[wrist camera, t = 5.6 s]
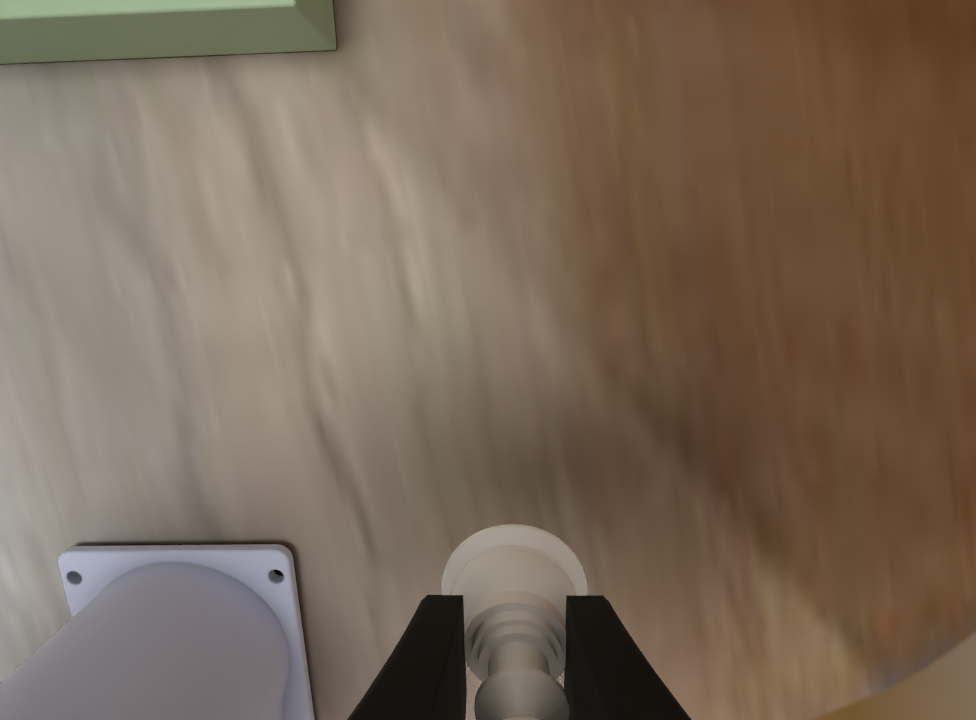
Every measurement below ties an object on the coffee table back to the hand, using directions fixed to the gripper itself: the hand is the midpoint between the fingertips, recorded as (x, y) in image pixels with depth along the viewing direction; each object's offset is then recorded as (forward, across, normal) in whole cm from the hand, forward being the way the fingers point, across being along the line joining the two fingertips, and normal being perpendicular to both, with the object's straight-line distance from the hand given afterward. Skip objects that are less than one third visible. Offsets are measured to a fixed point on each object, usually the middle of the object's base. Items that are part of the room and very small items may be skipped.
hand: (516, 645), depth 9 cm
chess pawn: (+2, 0, 0) cm, 2 cm away
